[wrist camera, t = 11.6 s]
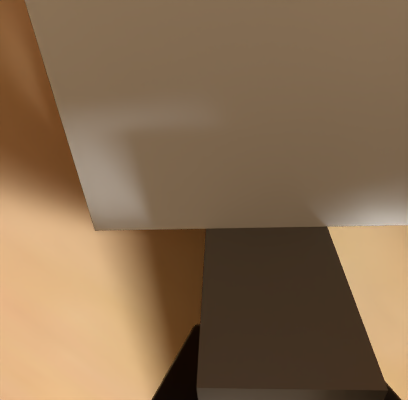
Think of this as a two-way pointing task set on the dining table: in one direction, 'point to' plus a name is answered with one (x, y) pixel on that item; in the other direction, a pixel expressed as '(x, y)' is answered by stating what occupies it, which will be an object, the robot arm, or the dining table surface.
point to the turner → (244, 163)
